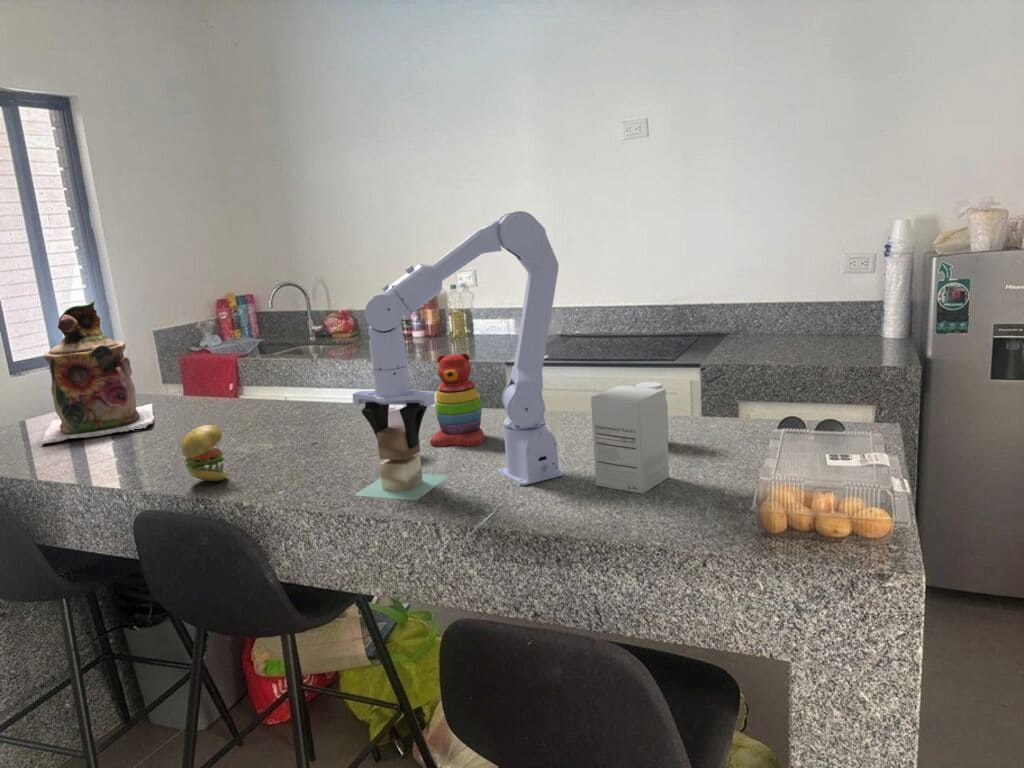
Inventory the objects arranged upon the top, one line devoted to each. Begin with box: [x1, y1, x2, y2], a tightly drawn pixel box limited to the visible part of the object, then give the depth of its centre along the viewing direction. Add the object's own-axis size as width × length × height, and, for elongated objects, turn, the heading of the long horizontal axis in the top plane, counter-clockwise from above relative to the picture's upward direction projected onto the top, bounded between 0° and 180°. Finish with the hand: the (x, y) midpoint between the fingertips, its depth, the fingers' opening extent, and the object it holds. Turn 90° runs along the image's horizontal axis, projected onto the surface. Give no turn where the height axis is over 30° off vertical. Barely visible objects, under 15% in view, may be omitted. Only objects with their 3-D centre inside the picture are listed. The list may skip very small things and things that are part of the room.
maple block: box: [379, 455, 423, 491], centre depth 127 cm, size 5×5×4 cm
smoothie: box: [388, 404, 405, 427], centre depth 145 cm, size 6×6×14 cm
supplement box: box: [590, 385, 670, 495], centre depth 120 cm, size 9×9×15 cm
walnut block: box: [376, 424, 421, 460], centre depth 126 cm, size 5×5×4 cm
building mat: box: [352, 473, 450, 501], centre depth 128 cm, size 12×12×1 cm
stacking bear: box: [429, 353, 485, 447], centre depth 152 cm, size 11×10×18 cm
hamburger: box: [180, 421, 228, 482], centre depth 137 cm, size 8×7×12 cm
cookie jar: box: [39, 299, 155, 446], centre depth 187 cm, size 25×25×32 cm
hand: (398, 446), depth 126 cm, fingers closed on walnut block, 5 cm apart
